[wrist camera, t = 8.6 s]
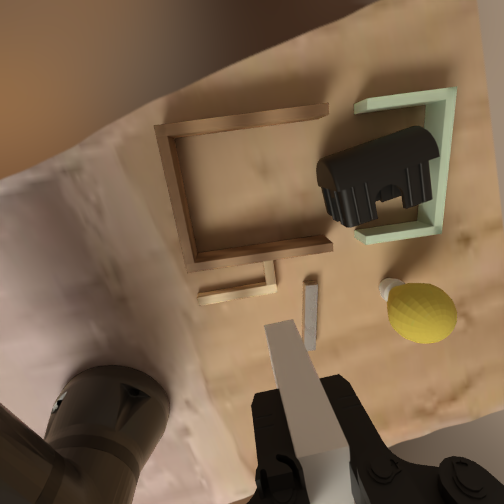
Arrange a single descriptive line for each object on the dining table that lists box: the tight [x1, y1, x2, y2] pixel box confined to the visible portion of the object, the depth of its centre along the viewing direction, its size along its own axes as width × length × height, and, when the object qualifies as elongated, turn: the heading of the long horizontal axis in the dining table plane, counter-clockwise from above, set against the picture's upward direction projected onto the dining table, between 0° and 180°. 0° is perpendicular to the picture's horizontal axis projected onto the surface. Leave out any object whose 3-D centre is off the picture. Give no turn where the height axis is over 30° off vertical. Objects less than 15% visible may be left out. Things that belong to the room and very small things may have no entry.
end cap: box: [316, 126, 440, 227], centre depth 29 cm, size 10×7×7 cm
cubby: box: [154, 103, 333, 273], centre depth 30 cm, size 16×15×4 cm
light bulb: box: [379, 278, 457, 344], centre depth 32 cm, size 7×7×10 cm
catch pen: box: [354, 87, 457, 245], centre depth 31 cm, size 9×15×3 cm, turn 7°
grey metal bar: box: [302, 281, 318, 351], centre depth 37 cm, size 10×2×2 cm, turn 3°
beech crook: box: [197, 260, 277, 306], centre depth 34 cm, size 10×5×1 cm, turn 99°
